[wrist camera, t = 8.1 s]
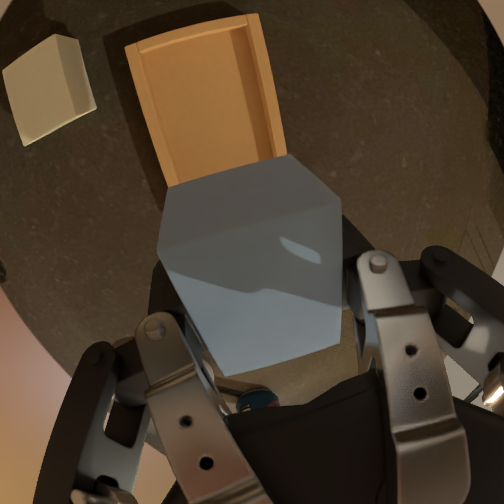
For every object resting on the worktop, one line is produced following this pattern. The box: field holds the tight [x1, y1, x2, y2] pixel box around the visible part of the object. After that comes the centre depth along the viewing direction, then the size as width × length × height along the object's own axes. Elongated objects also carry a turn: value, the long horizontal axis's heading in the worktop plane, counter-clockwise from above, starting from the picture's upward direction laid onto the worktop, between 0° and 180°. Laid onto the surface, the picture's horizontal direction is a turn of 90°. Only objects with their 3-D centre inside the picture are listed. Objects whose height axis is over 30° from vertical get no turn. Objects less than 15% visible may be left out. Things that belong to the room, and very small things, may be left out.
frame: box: [125, 13, 287, 188], centre depth 18 cm, size 9×15×2 cm, turn 11°
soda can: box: [236, 389, 280, 413], centre depth 37 cm, size 7×7×12 cm
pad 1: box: [2, 34, 97, 146], centre depth 12 cm, size 4×6×4 cm
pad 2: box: [156, 154, 343, 377], centre depth 10 cm, size 4×6×4 cm
